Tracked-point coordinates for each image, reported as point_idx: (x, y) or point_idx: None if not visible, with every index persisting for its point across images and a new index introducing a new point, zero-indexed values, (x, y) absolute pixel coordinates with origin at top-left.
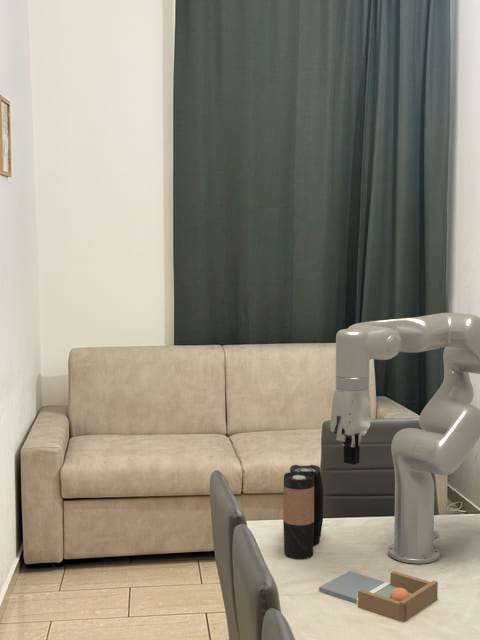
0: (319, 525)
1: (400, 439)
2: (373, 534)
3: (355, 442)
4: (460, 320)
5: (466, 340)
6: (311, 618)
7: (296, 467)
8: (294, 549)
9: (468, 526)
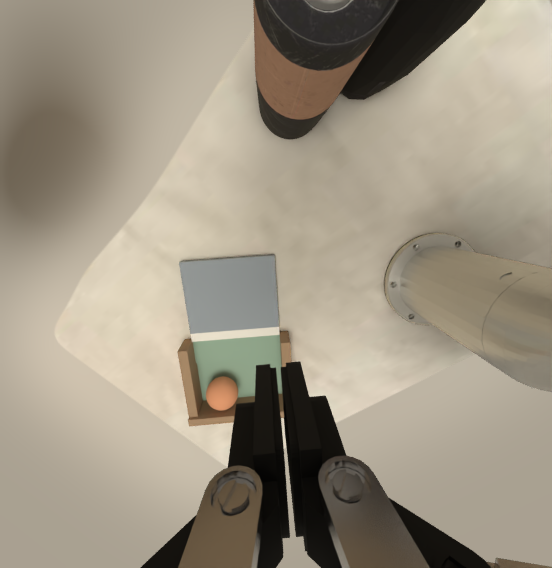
0: (380, 86)
1: None
2: (487, 154)
3: (319, 564)
4: None
5: None
6: (98, 316)
7: None
8: (261, 112)
9: None
